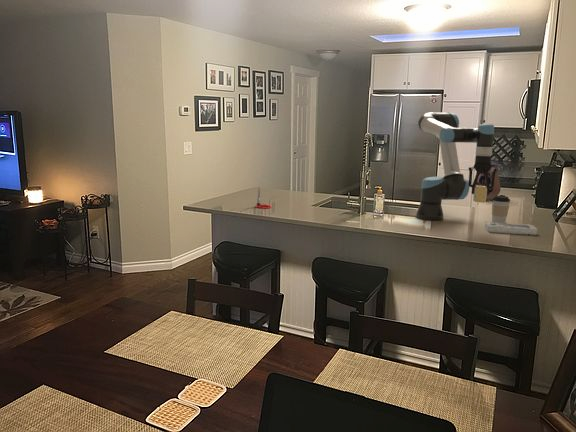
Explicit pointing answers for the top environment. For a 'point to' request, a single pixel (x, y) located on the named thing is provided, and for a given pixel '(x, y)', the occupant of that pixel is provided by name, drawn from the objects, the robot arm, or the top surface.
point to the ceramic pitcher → (482, 182)
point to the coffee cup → (500, 209)
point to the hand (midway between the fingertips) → (479, 200)
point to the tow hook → (260, 204)
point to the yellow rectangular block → (480, 193)
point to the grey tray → (510, 228)
